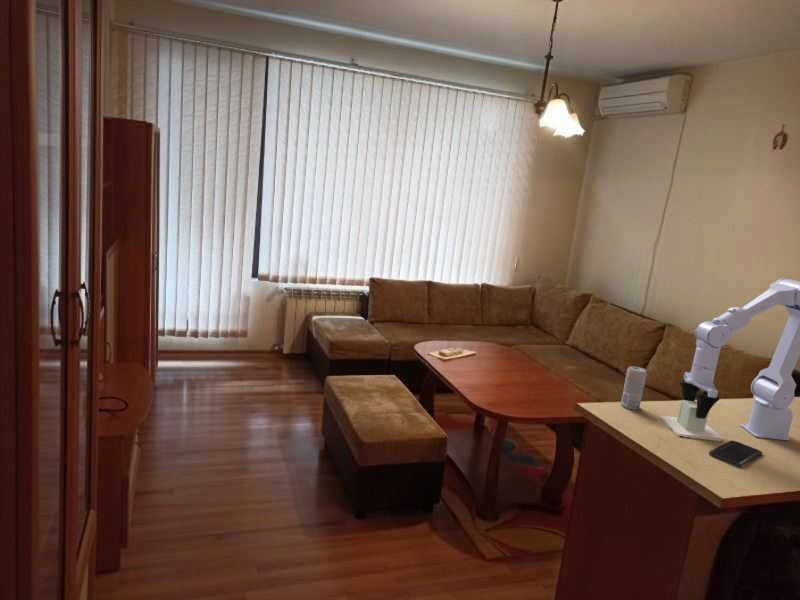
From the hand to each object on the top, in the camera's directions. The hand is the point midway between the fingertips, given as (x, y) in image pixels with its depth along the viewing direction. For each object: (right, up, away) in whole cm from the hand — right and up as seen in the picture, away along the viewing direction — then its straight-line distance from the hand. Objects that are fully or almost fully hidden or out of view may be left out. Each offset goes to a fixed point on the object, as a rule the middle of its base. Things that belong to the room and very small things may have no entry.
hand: (693, 412), depth 160 cm
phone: (+4, -9, -12) cm, 16 cm away
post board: (-1, -5, +1) cm, 5 cm away
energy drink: (-12, -1, +14) cm, 19 cm away
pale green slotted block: (-1, -4, +1) cm, 4 cm away
